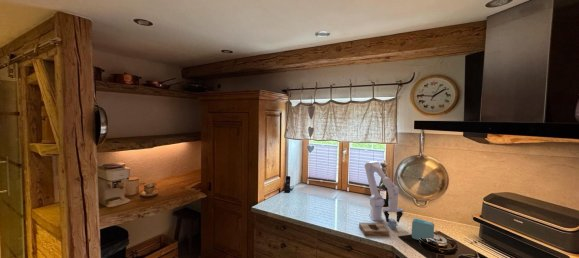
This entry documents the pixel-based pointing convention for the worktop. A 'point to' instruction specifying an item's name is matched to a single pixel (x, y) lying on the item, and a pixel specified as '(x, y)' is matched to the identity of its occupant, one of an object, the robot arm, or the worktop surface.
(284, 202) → the worktop surface
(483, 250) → the worktop surface
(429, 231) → the data package
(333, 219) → the worktop surface
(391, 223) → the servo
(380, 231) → the board
